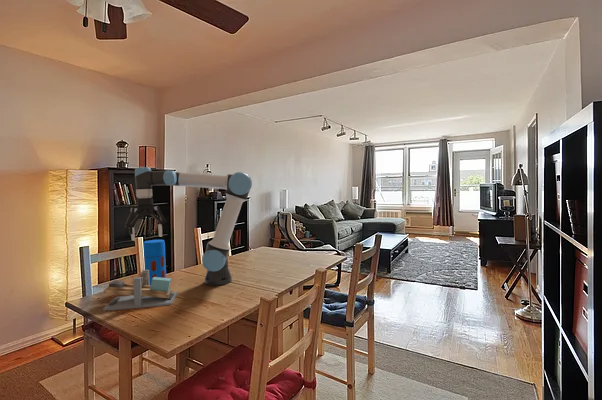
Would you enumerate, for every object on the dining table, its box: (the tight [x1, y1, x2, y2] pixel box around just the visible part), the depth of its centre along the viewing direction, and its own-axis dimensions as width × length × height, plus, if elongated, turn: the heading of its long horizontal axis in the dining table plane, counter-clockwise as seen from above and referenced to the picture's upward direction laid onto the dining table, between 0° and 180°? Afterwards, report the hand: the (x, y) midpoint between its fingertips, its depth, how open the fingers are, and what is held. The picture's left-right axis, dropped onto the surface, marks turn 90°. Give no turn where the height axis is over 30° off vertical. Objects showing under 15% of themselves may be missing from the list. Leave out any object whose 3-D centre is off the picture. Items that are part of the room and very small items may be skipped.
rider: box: [150, 277, 172, 293], centre depth 157 cm, size 8×4×6 cm, turn 102°
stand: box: [102, 269, 178, 312], centre depth 155 cm, size 29×16×14 cm, turn 102°
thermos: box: [143, 239, 167, 286], centre depth 181 cm, size 11×11×25 cm
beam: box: [103, 271, 173, 298], centre depth 155 cm, size 28×12×9 cm, turn 102°
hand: (147, 238), depth 166 cm, fingers open, 13 cm apart
